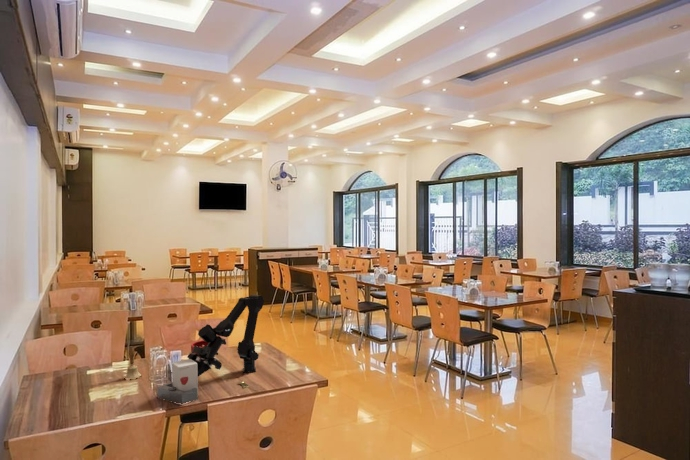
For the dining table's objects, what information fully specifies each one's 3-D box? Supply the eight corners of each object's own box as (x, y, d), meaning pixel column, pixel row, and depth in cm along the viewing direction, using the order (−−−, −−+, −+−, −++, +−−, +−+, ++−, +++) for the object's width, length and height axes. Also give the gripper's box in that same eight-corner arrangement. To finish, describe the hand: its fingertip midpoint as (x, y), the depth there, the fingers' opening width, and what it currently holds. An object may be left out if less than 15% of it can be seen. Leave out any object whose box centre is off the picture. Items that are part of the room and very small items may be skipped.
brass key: (236, 383, 227) (236, 382, 227) (242, 382, 229) (242, 380, 229) (243, 388, 221) (243, 386, 221) (250, 386, 223) (249, 385, 223)
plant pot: (186, 366, 256) (185, 344, 256) (206, 359, 267) (205, 338, 266) (202, 370, 249) (201, 347, 248) (221, 363, 259) (221, 341, 259)
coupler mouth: (173, 392, 218) (172, 380, 218) (197, 399, 208) (196, 387, 208) (157, 398, 211) (157, 385, 211) (181, 405, 202) (181, 392, 201)
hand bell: (129, 381, 234) (128, 349, 234) (120, 378, 239) (119, 346, 239) (144, 376, 241) (143, 345, 240) (136, 373, 246) (135, 343, 245)
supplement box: (178, 400, 207) (177, 367, 207) (172, 395, 214) (171, 362, 214) (198, 395, 213) (197, 362, 212) (192, 390, 220) (191, 358, 219)
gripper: (189, 336, 227) (170, 365, 218) (216, 341, 216) (196, 372, 207) (203, 348, 233) (185, 377, 225) (229, 354, 223) (211, 384, 214)
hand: (194, 377), depth 218 cm, fingers closed
